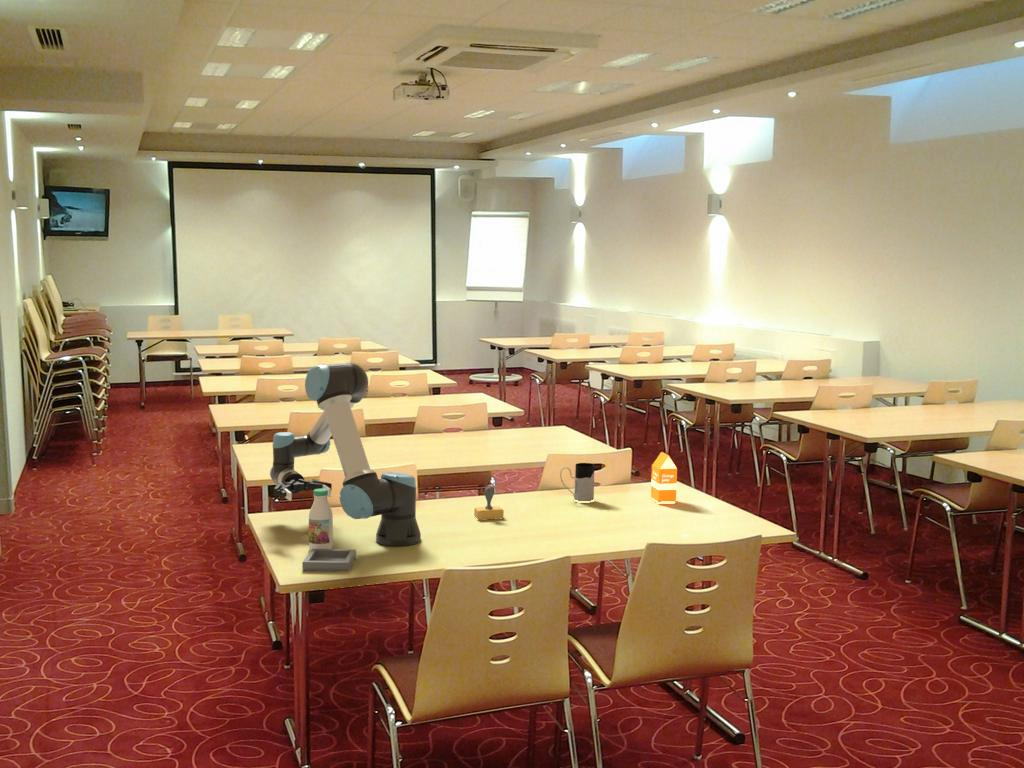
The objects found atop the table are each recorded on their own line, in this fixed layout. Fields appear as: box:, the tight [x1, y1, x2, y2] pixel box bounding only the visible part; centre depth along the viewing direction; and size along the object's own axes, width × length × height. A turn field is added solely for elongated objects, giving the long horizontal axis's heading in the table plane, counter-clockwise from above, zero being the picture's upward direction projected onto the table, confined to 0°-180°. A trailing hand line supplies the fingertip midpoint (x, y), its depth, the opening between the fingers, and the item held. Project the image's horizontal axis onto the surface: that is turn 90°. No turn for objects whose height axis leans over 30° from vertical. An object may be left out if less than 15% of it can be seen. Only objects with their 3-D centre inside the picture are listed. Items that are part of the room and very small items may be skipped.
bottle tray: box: [301, 548, 357, 572], centre depth 297 cm, size 14×14×3 cm
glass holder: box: [559, 462, 595, 501], centre depth 385 cm, size 9×14×15 cm, turn 91°
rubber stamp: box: [473, 486, 505, 521], centre depth 356 cm, size 10×6×12 cm, turn 106°
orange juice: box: [650, 451, 678, 502], centre depth 386 cm, size 8×9×20 cm
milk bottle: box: [308, 489, 334, 551], centre depth 312 cm, size 8×8×20 cm
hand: (310, 494), depth 320 cm, fingers open, 13 cm apart
